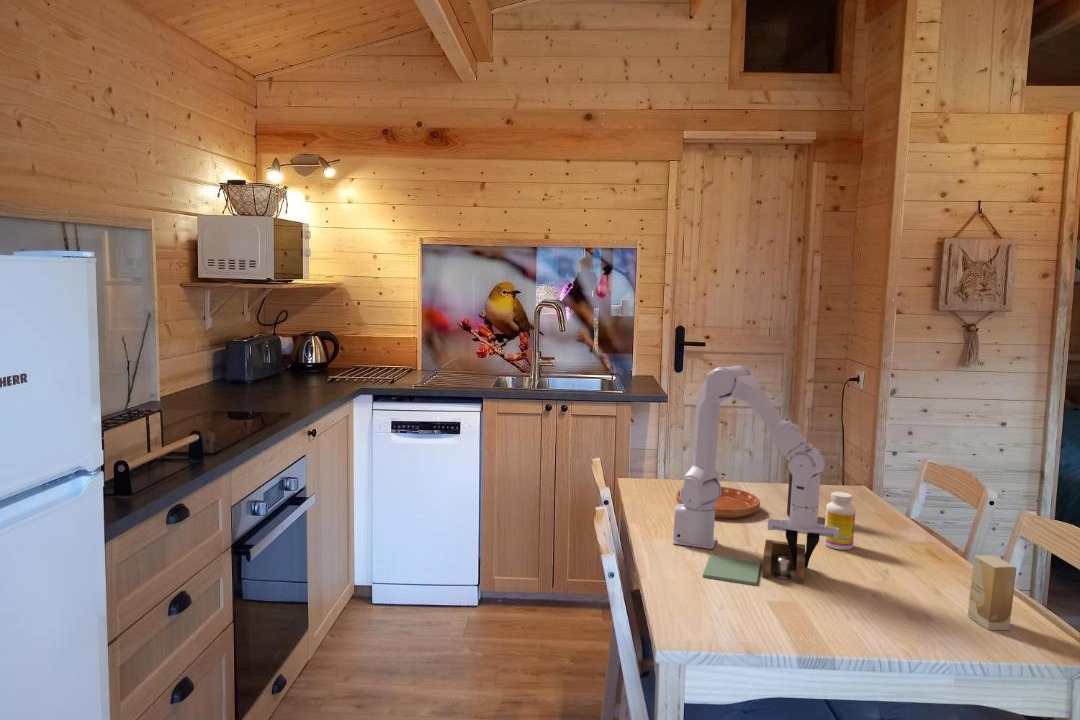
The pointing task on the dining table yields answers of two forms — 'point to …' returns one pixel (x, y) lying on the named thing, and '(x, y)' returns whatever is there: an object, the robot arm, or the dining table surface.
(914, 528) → the dining table surface
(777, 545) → the walnut C-link
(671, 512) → the dining table surface
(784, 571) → the metal door knob
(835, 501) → the supplement bottle
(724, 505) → the saucer
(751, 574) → the green rubber mat
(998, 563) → the skincare box
